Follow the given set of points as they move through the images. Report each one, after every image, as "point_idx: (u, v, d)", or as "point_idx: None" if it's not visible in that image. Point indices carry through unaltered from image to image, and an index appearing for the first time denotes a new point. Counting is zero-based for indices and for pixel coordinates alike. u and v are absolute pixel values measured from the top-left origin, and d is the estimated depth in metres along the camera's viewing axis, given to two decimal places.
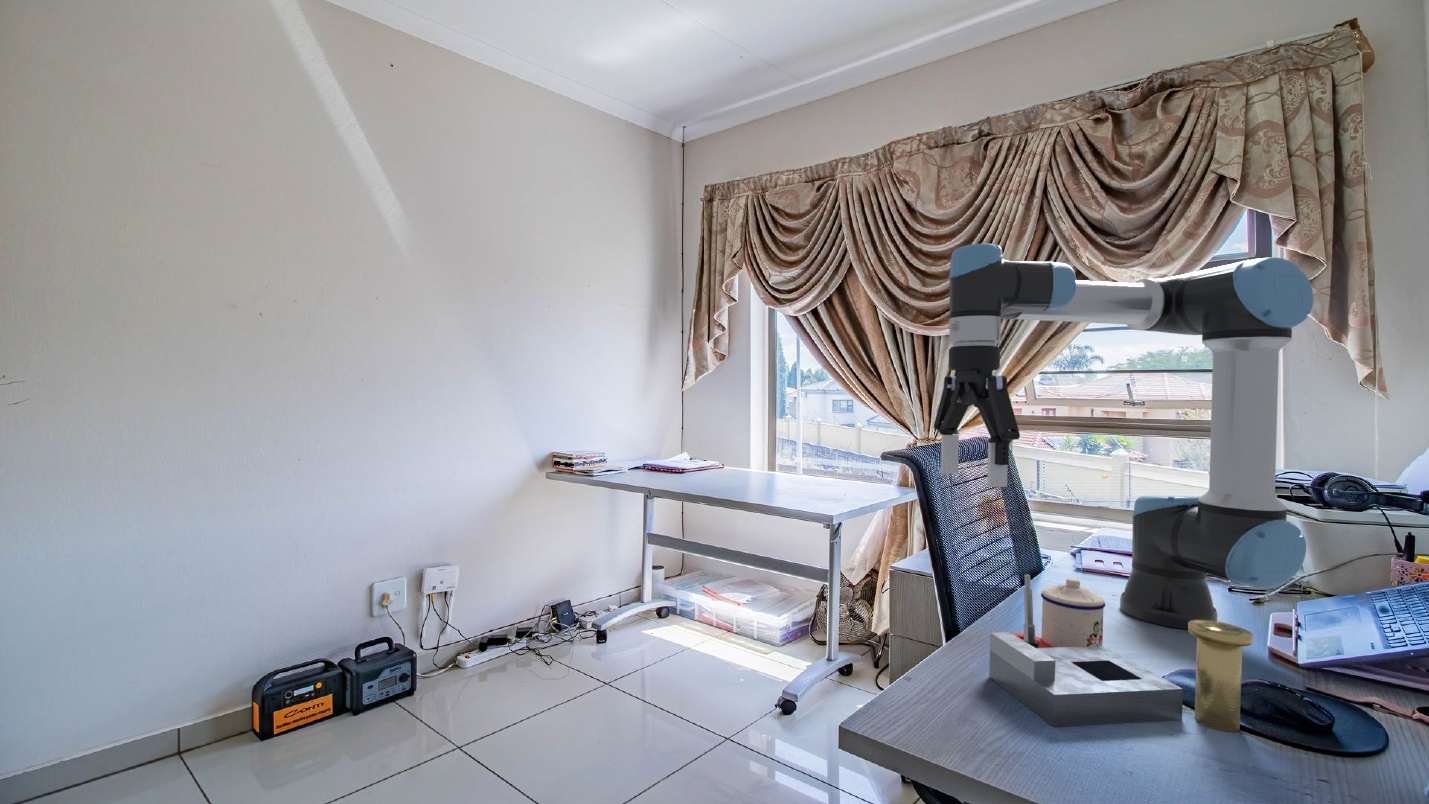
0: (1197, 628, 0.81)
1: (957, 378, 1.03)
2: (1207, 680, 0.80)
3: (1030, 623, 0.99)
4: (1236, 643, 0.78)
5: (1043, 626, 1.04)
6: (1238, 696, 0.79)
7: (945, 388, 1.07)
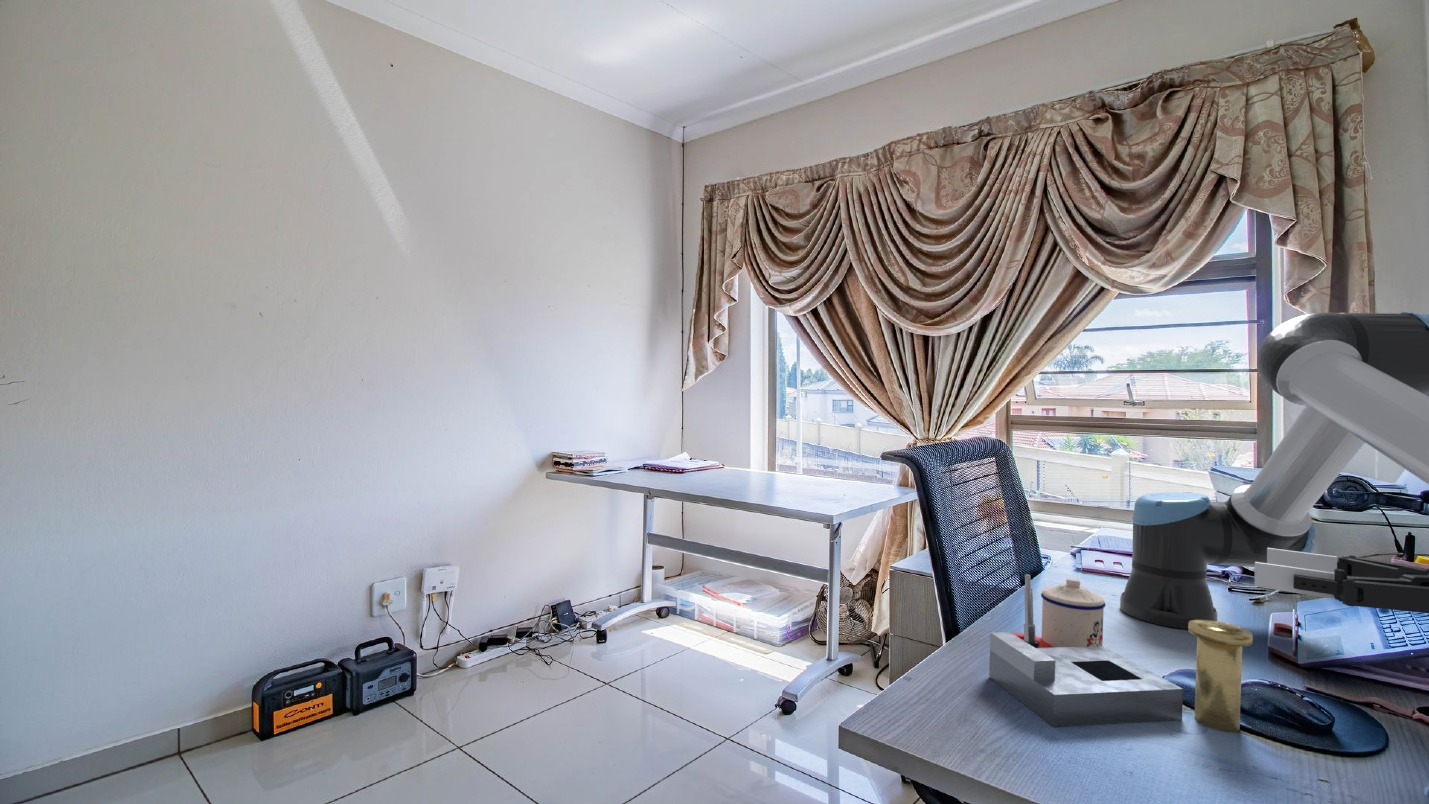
0: (1197, 628, 0.81)
1: None
2: (1207, 679, 0.80)
3: (1030, 623, 0.99)
4: (1236, 643, 0.78)
5: (1043, 626, 1.04)
6: (1238, 696, 0.79)
7: None
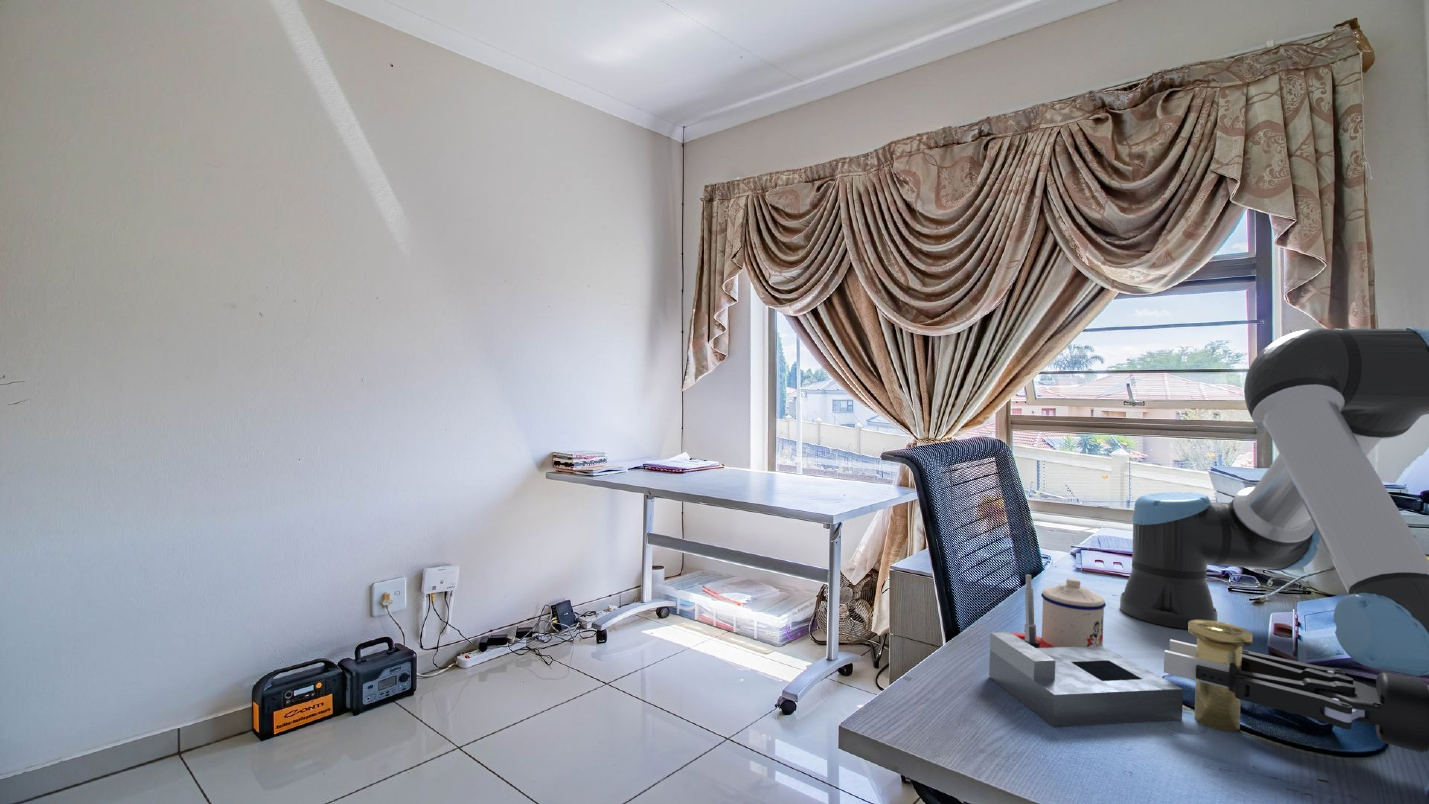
0: (1197, 628, 0.81)
1: None
2: None
3: (1031, 623, 0.99)
4: (1236, 643, 0.78)
5: (1043, 626, 1.04)
6: None
7: None
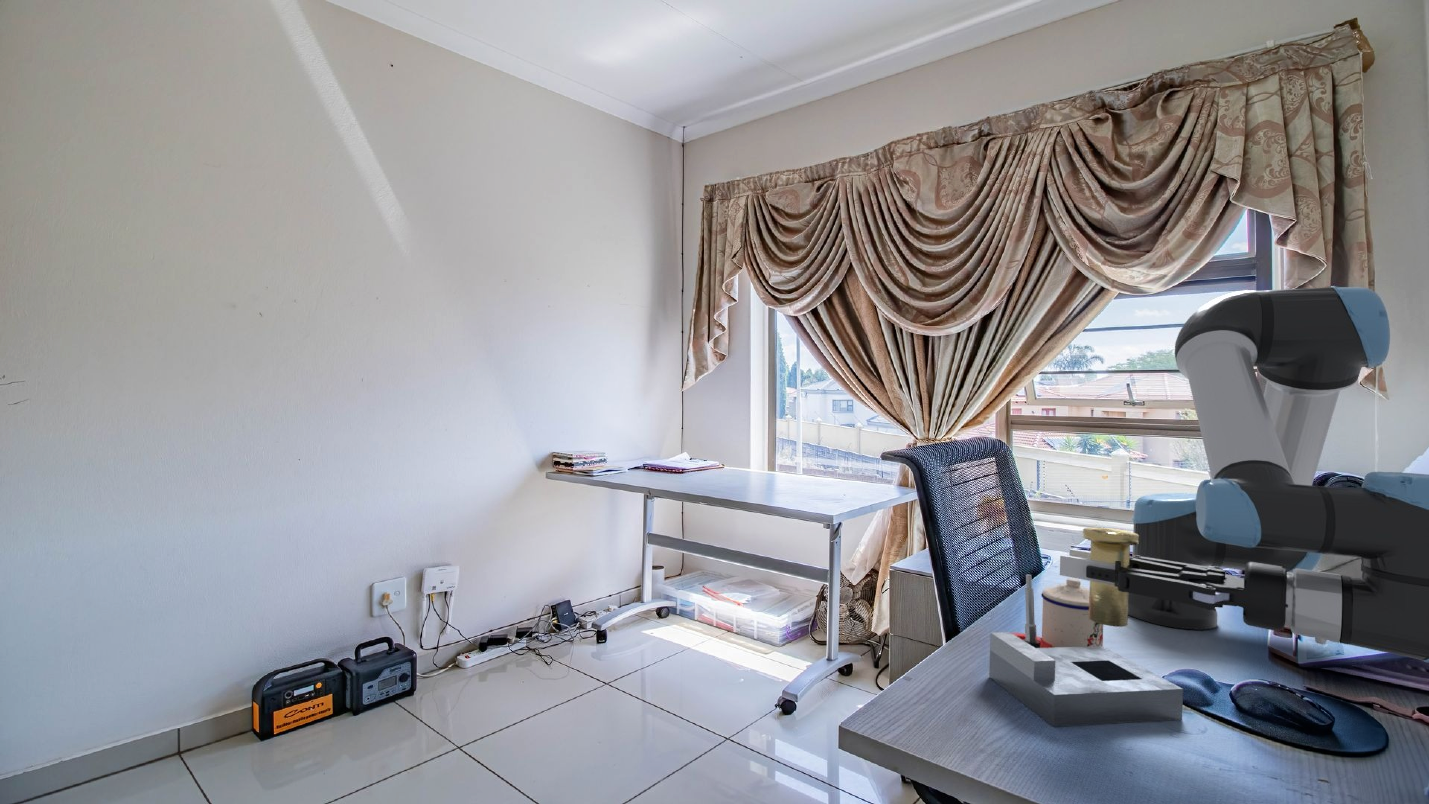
0: (1089, 532, 0.86)
1: None
2: None
3: (1031, 623, 0.99)
4: (1122, 542, 0.83)
5: (1043, 626, 1.04)
6: (1125, 593, 0.84)
7: None
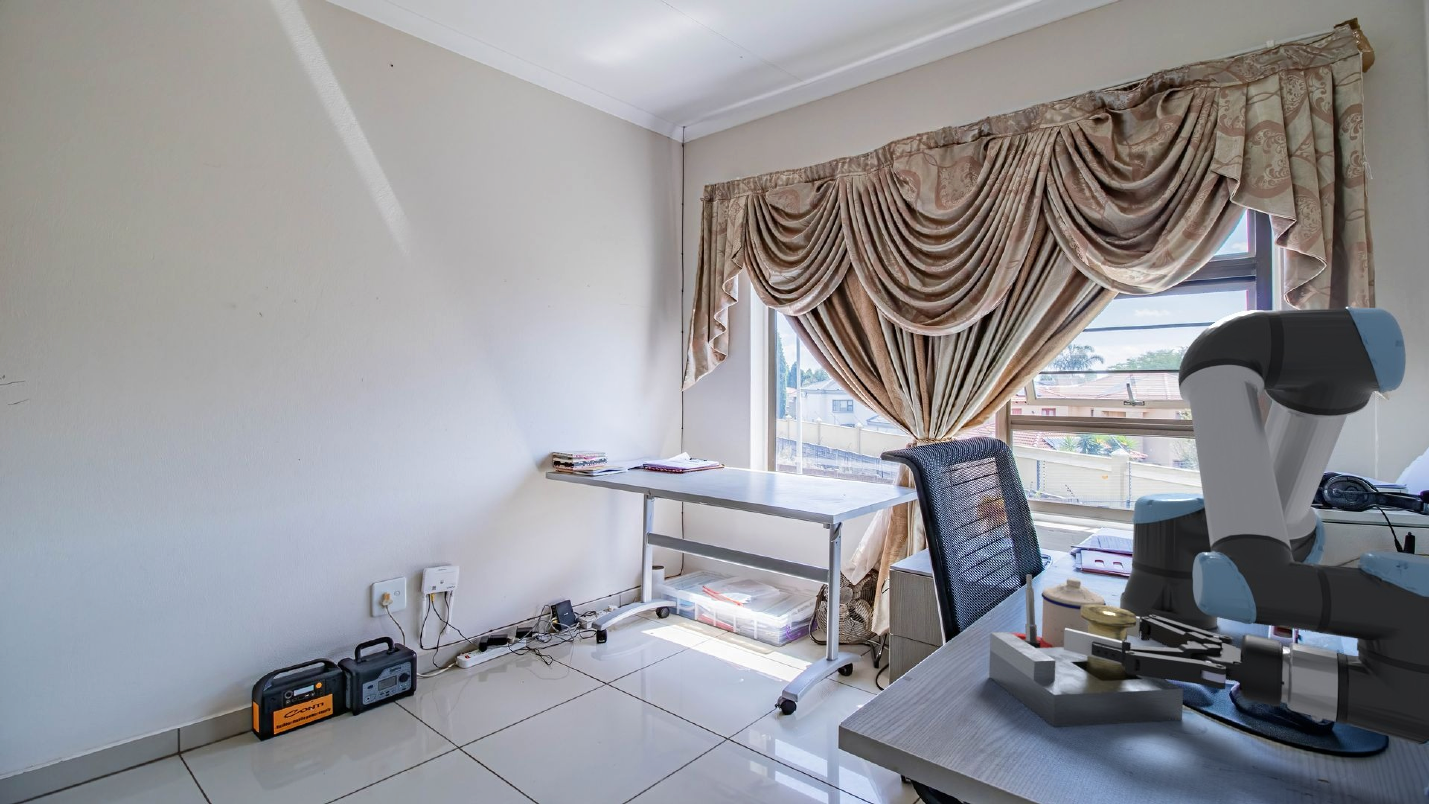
0: (1086, 611, 0.86)
1: None
2: (1095, 659, 0.86)
3: (1032, 623, 0.99)
4: (1119, 625, 0.83)
5: (1043, 626, 1.04)
6: (1122, 674, 0.85)
7: None
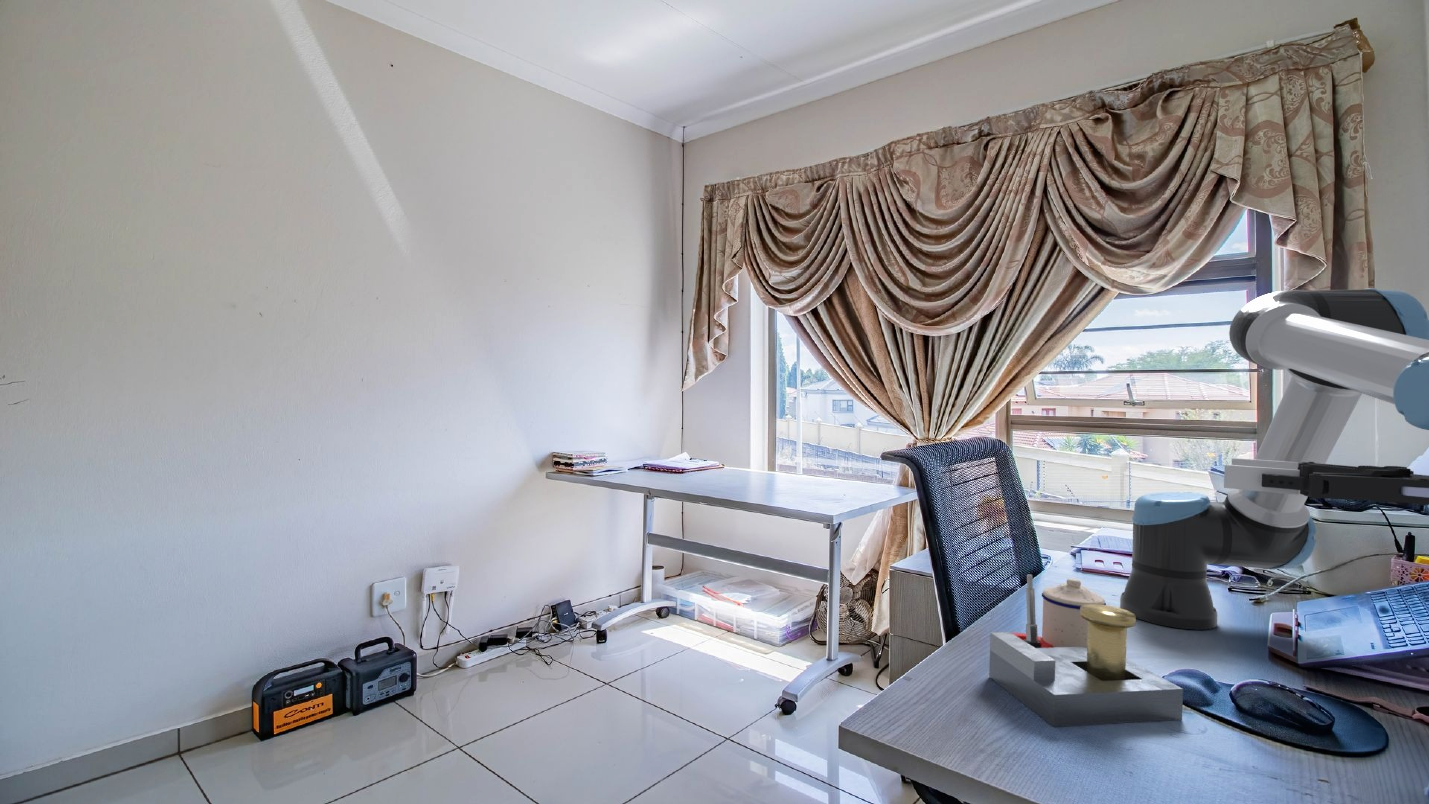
0: (1086, 611, 0.86)
1: None
2: (1095, 659, 0.86)
3: (1032, 623, 0.99)
4: (1118, 625, 0.83)
5: (1044, 626, 1.04)
6: (1122, 674, 0.85)
7: None
